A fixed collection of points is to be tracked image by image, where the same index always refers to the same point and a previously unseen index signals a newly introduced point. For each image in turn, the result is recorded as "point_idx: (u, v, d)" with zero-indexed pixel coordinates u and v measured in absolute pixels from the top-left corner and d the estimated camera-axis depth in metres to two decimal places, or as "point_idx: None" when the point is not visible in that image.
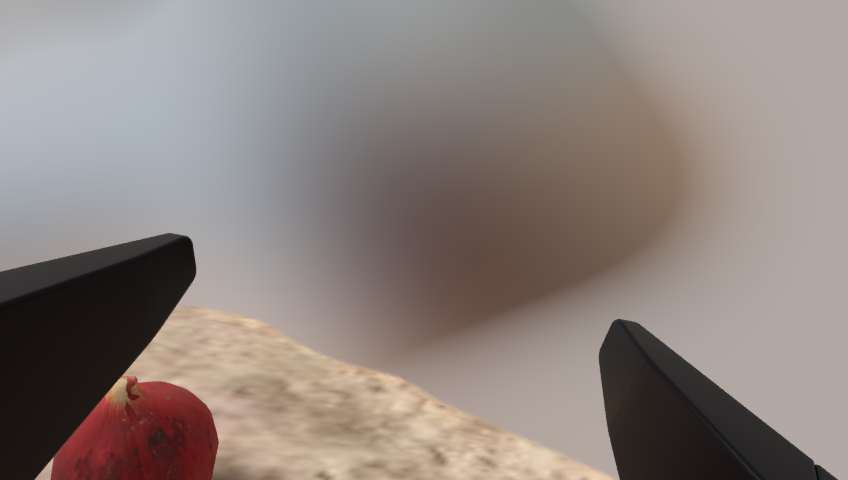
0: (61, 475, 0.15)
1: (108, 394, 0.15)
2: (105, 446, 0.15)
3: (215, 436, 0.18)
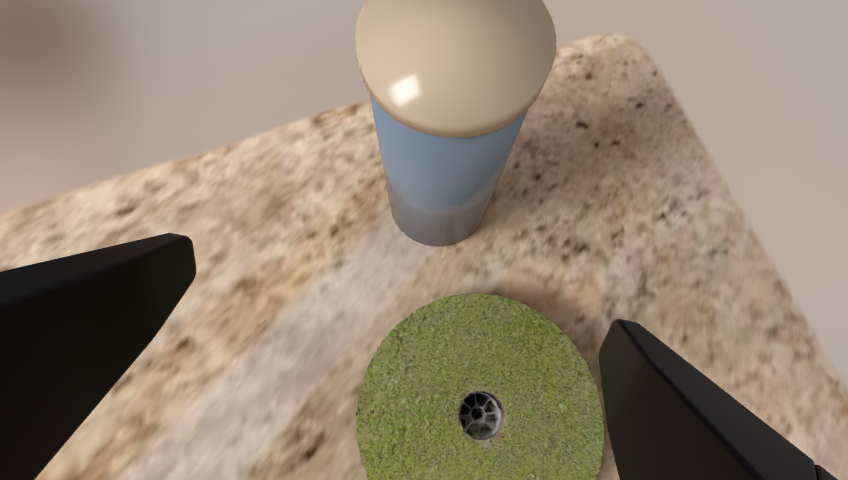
0: None
1: None
2: None
3: None
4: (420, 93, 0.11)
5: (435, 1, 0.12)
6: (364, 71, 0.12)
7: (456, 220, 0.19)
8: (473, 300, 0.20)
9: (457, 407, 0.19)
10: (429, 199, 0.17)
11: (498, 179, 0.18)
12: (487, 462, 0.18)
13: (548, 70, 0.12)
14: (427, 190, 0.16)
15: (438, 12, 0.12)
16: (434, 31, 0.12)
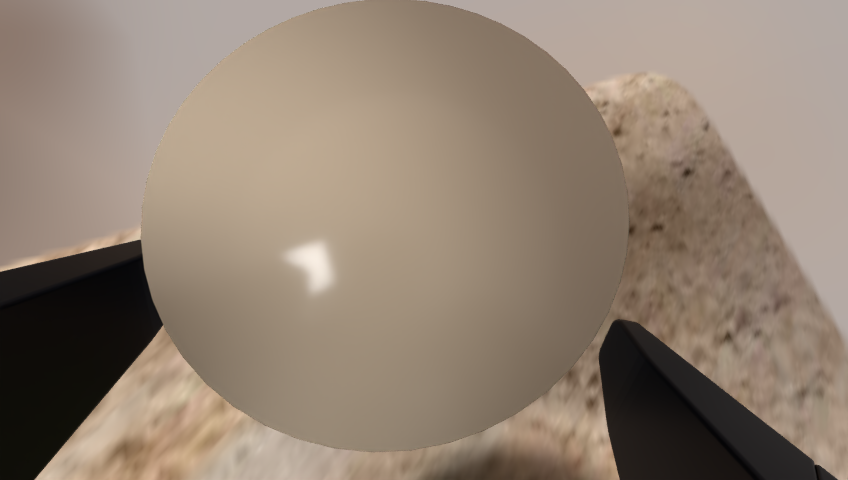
0: None
1: None
2: None
3: None
4: (286, 358, 0.04)
5: (345, 100, 0.05)
6: (153, 290, 0.05)
7: None
8: None
9: None
10: None
11: None
12: None
13: (614, 285, 0.05)
14: None
15: (350, 127, 0.05)
16: (337, 177, 0.05)
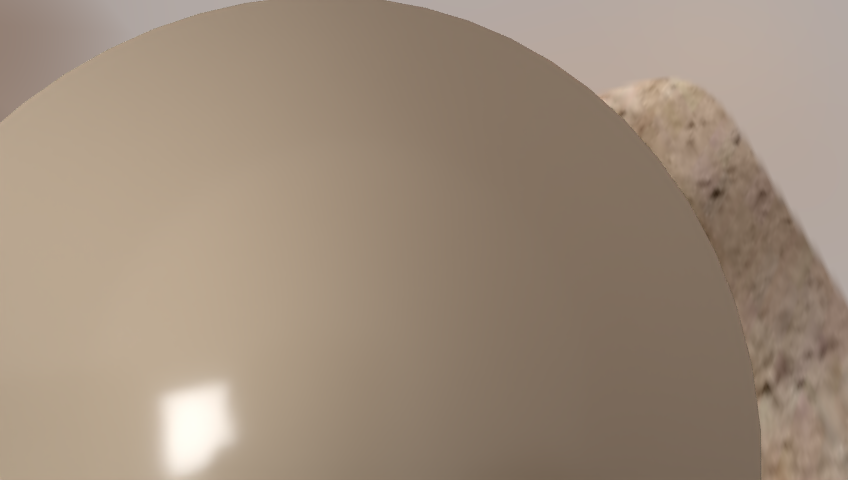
0: None
1: None
2: None
3: None
4: None
5: (230, 180, 0.03)
6: None
7: None
8: None
9: None
10: None
11: None
12: None
13: None
14: None
15: (236, 232, 0.03)
16: (202, 336, 0.03)
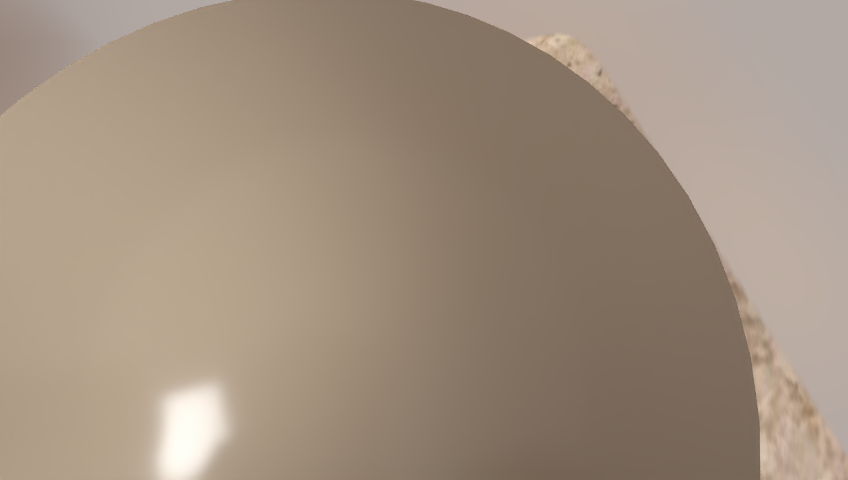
0: None
1: None
2: None
3: None
4: None
5: (229, 173, 0.03)
6: None
7: None
8: None
9: None
10: None
11: None
12: None
13: None
14: None
15: (235, 226, 0.03)
16: (201, 328, 0.03)
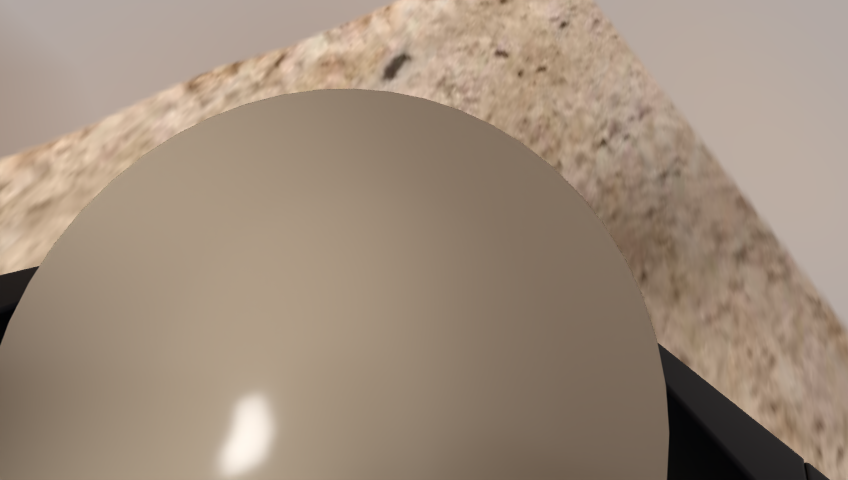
0: None
1: None
2: None
3: None
4: None
5: (275, 241, 0.04)
6: None
7: None
8: None
9: None
10: None
11: None
12: None
13: None
14: None
15: (281, 283, 0.04)
16: (259, 363, 0.04)
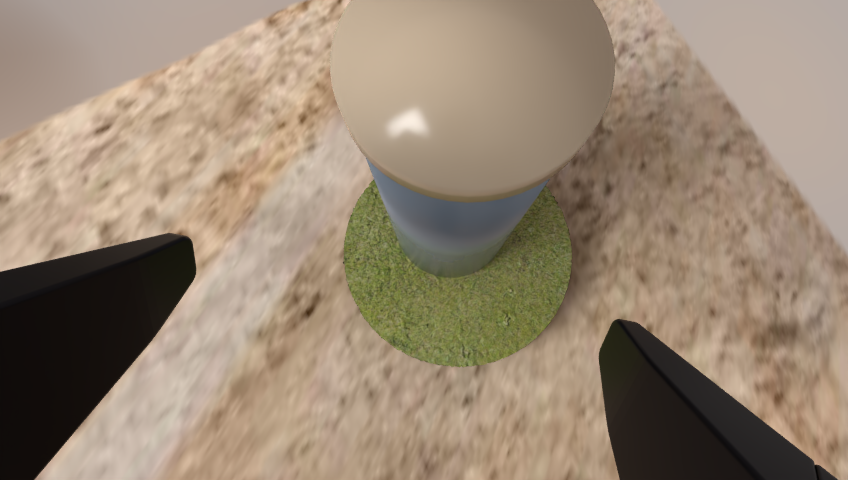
0: None
1: None
2: None
3: None
4: (420, 145, 0.08)
5: (441, 6, 0.09)
6: (342, 113, 0.08)
7: (471, 260, 0.16)
8: None
9: None
10: (438, 246, 0.14)
11: None
12: (467, 285, 0.20)
13: (603, 107, 0.08)
14: (434, 239, 0.13)
15: (446, 22, 0.09)
16: (440, 51, 0.08)
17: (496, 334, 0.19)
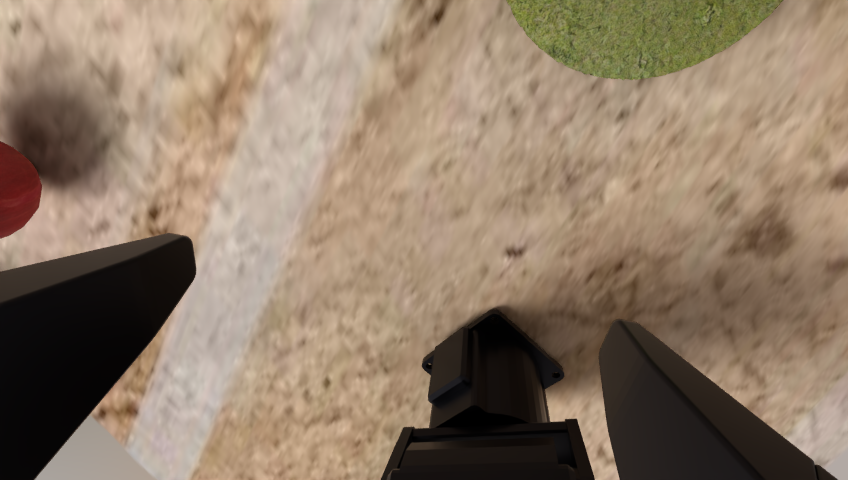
0: None
1: None
2: None
3: None
4: None
5: None
6: None
7: None
8: None
9: None
10: None
11: None
12: None
13: None
14: None
15: None
16: None
17: (689, 35, 0.15)
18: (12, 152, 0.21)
